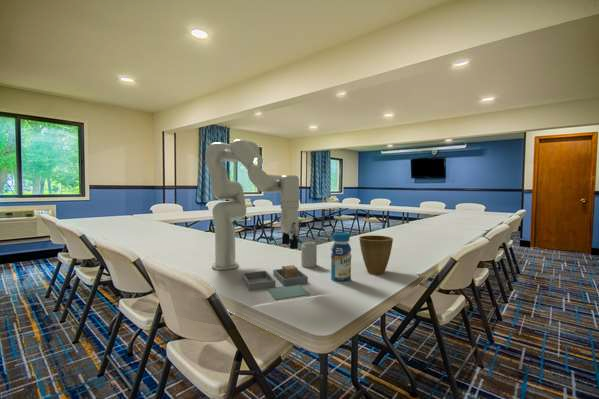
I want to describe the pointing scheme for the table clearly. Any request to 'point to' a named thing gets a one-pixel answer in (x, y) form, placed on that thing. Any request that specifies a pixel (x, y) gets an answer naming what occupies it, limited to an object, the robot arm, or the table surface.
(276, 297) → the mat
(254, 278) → the bin
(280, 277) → the bin
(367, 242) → the plant pot
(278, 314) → the table surface
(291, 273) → the letter cube
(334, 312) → the table surface
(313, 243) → the can
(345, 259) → the beverage bottle
